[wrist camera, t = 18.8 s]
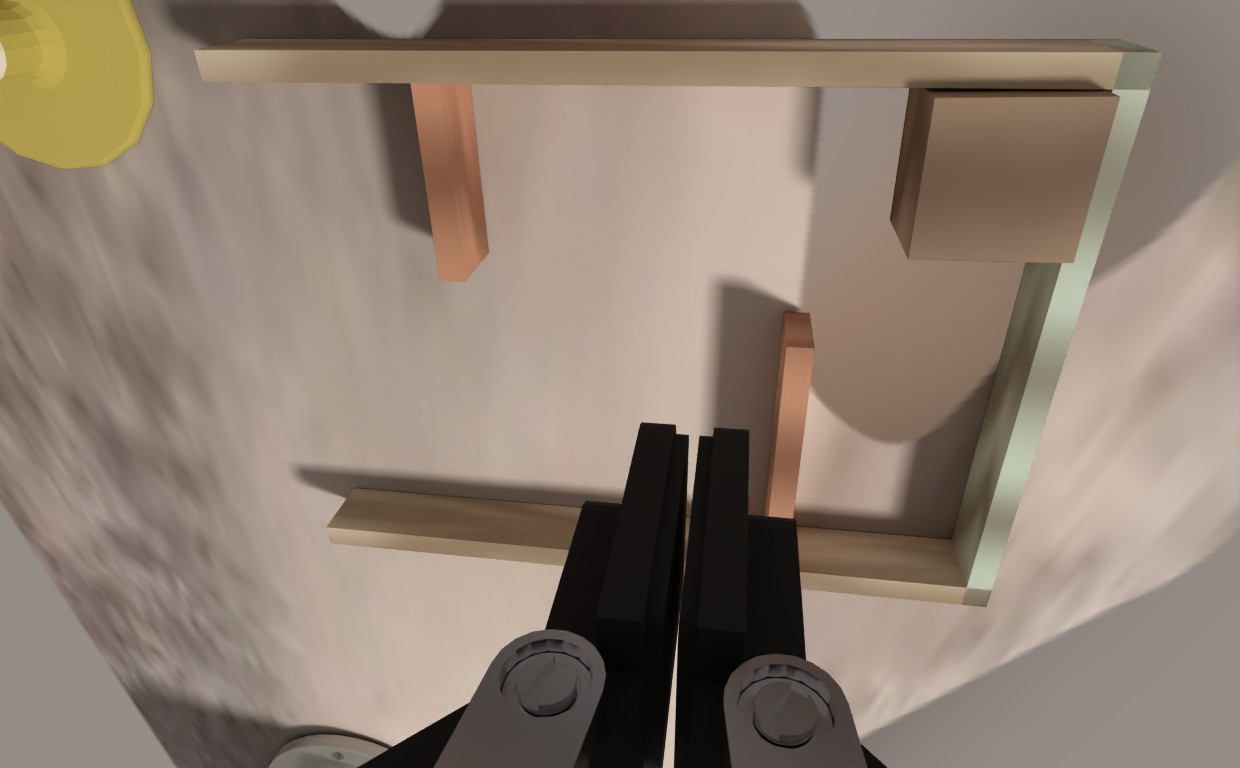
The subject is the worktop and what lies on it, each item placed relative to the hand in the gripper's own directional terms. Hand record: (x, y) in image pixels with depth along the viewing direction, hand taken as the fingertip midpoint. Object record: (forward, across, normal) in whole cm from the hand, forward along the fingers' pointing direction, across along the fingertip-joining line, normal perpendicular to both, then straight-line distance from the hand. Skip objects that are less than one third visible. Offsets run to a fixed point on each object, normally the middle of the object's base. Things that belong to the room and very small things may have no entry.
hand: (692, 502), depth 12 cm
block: (+19, -8, -1) cm, 21 cm away
